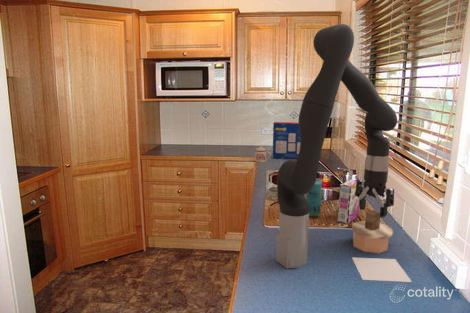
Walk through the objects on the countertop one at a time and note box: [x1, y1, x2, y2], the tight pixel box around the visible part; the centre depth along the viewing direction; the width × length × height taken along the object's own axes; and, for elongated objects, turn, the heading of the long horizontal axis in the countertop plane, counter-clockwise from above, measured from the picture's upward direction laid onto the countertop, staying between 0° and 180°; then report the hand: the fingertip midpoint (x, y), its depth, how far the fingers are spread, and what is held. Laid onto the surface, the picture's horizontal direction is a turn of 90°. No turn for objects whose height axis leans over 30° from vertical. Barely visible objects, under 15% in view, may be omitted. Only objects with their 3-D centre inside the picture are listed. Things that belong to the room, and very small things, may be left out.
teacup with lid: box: [254, 145, 272, 163], centre depth 272 cm, size 12×9×12 cm
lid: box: [351, 209, 394, 239], centre depth 127 cm, size 14×14×7 cm
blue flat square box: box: [272, 121, 300, 161], centre depth 281 cm, size 28×8×28 cm, turn 81°
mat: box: [351, 257, 413, 283], centre depth 112 cm, size 14×14×1 cm
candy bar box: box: [336, 179, 360, 225], centre depth 154 cm, size 11×5×16 cm, turn 141°
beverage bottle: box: [305, 171, 323, 217], centre depth 156 cm, size 6×7×20 cm
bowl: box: [352, 232, 390, 254], centre depth 128 cm, size 11×11×6 cm
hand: (372, 213), depth 126 cm, fingers open, 8 cm apart
